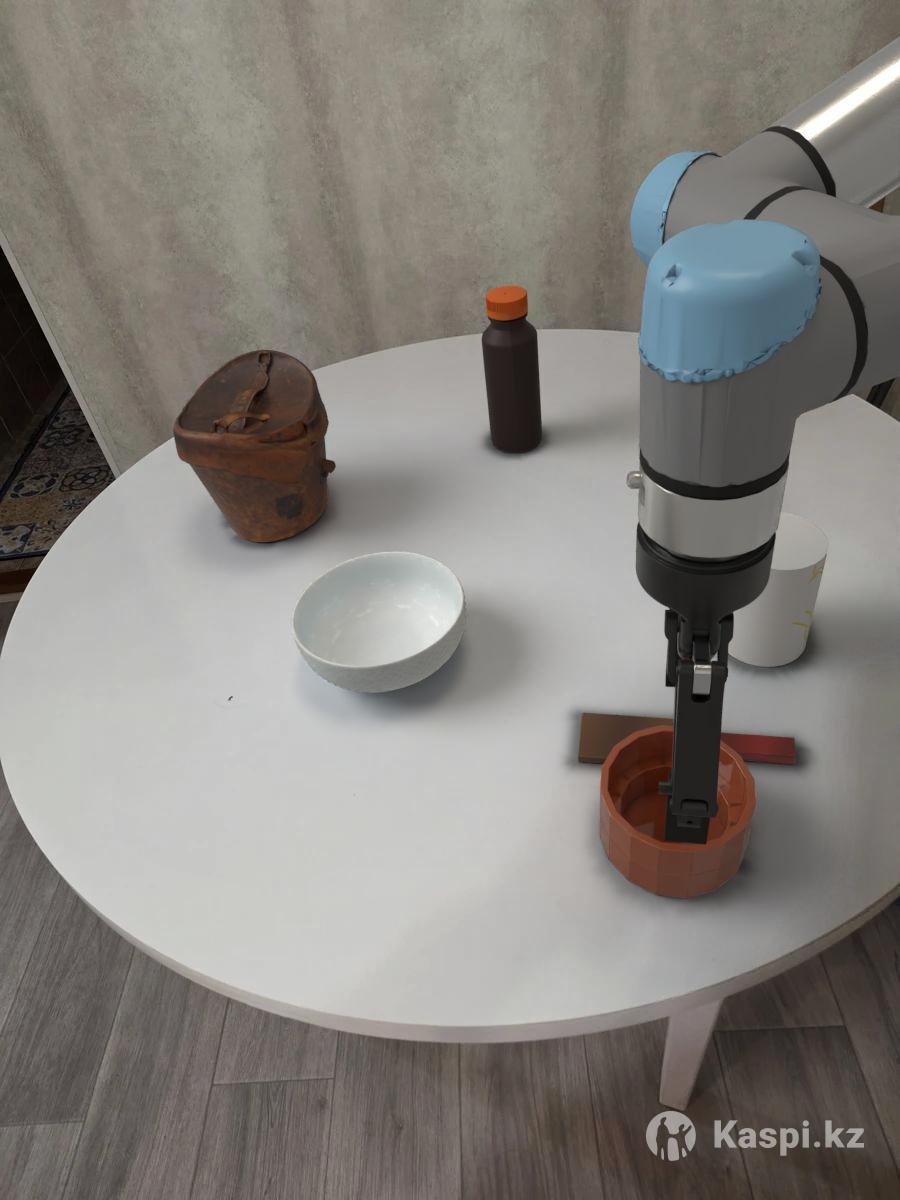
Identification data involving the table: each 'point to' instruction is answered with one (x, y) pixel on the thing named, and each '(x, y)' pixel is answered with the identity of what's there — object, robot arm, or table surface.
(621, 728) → the spatula
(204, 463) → the case
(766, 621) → the white cylinder
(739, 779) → the bowl
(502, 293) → the bottle
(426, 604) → the cereal bowl
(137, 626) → the table surface
